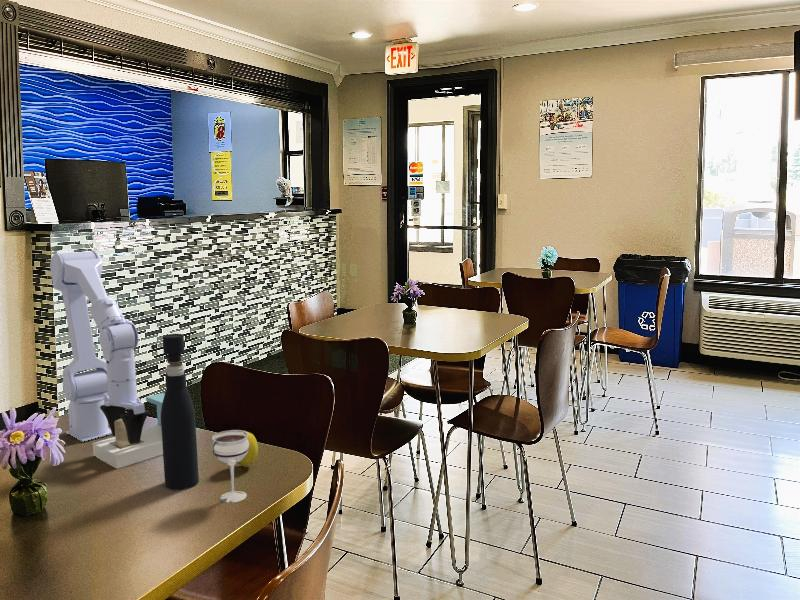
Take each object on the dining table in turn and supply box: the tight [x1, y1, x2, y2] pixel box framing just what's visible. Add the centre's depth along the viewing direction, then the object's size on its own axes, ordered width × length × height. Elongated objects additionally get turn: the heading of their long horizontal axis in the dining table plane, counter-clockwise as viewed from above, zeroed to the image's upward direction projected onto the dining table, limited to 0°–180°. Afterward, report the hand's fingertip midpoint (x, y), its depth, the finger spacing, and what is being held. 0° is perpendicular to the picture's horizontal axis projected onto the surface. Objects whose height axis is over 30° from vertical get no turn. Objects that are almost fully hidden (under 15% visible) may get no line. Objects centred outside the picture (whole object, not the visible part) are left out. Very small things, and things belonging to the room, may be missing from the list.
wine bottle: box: [161, 333, 200, 491], centre depth 129 cm, size 6×6×30 cm
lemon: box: [236, 430, 259, 468], centre depth 139 cm, size 6×6×8 cm
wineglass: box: [211, 429, 249, 504], centre depth 125 cm, size 7×7×12 cm
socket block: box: [92, 392, 165, 470], centre depth 148 cm, size 11×17×10 cm, turn 139°
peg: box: [114, 419, 136, 449], centre depth 146 cm, size 4×4×8 cm
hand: (126, 438), depth 146 cm, fingers open, 7 cm apart
